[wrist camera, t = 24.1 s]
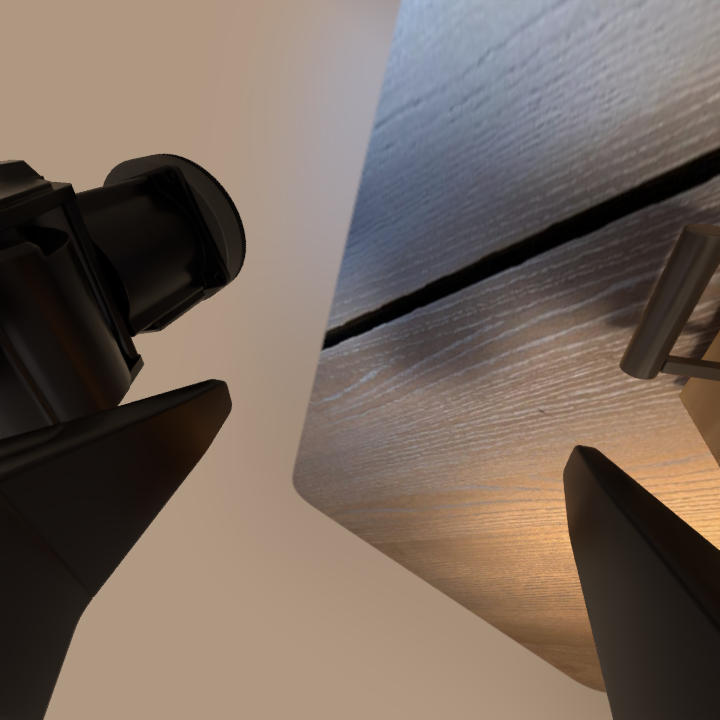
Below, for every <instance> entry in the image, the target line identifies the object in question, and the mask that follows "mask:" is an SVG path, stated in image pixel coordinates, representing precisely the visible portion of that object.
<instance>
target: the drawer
mask: <svg viewBox="0 0 720 720" xmlns="http://www.w3.org/2000/svg"><path fill="white" fill-rule="evenodd" d="M719 263H720V227H719V226H714V225H706V224H689V225H686V226H685V227H684V228H683V230H682V233H681V235H680V237H679V239H678V241H677V243H676V245H675V247H674V249H673V252H672V254H671V256H670V258H669V260H668V262H667V264H666V266H665V268H664V271H663V273H662V275H661V277H660V279H659V281H658V283H657V285H656V288H655V290H654V292H653V294H652V296H651V298H650V300H649V302H648V304H647V307H646V309H645V311H644V313H643V315H642V317H641V319H640V321H639V323H638V326H637V328H636V330H635V332H634V334H633V336H632V338H631V340H630V342H629V345H628V347H627V349H626V351H625V353H624V355H623V357H622V359H621V361H620V368H621V370H622V371H624V372H625V373H626V374H628V375H630V376H632V377H635V378H639V379H644V380H649V379H653V378H655V377H656V376H657V375H658V373H659V371H660V372H662V373H667V374H674V375H681V376H688V377H690V379H689V380H688V382H687V384H686V385H685V387H684V389H683V390H682V392H681V393H680V395H679V397H680V399H681V401H682V403H683V404H684V406H685V408H686V409H687V411H688V413H689V415H690V416H691V418H692V420H693V422H694V423H695V425H696V427H697V429H698V430H699V432H700V434H701V435H702V437H703V439H704V441H705V442H706V444H707V446H708V448H709V449H710V451H711V453H712V455H713V456H714V458H715V460H716V462H717V463H718V465H719V467H720V330H719V332H718V334H717V335H716V337H715V338H714V340H713V342H712V343H711V345H710V347H709V348H708V350H707V351H706V353H705V355H704V356H703V358H702V359H701V360H700V359H693V358H686V357H678V356H671V355H669V353H670V351H671V349H672V348H673V346H674V344H675V342H676V340H677V339H678V337H679V335H680V333H681V331H682V330H683V328H684V326H685V324H686V322H687V321H688V319H689V317H690V315H691V313H692V312H693V310H694V308H695V306H696V304H697V303H698V301H699V299H700V297H701V295H702V294H703V292H704V290H705V288H706V286H707V285H708V283H709V281H710V279H711V277H712V276H713V274H714V272H715V270H716V268H717V267H718V265H719Z"/></svg>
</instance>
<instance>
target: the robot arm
mask: <svg viewBox="0 0 720 720" xmlns="http://www.w3.org/2000/svg"><path fill="white" fill-rule="evenodd" d="M171 172H172V173H173V174H174V177H175V178H174V179H173V177H172V176H171ZM219 275H221V276H222V277H223V279H221V278H220V276H219ZM230 281H231V276H230V273H229V271H228V269H227V267H226V265H225V262H224V260H223V258H222V256H221V254H220V252H219V250H218V247H217V245H216V243H215V241H214V239H213V237H212V235H211V232H210V230H209V228H208V226H207V224H206V222H205V219H204V217H203V215H202V213H201V211H200V209H199V207H198V204H197V202H196V200H195V198H194V196H193V194H192V191H191V189H190V187H189V185H188V183H187V181H186V179H185V176H184V174H183V172H182V171H181V169H180V168H179V167H178V166H177V165H175V164H168V165H164V166H162V167H159V168H156V169H153V170H151V171H148V172H145V173H142V174H140V175H137V176H134V177H131V178H129V179H126V180H123V181H120V182H117V183H114V184H111V185H107V186H103V187H99V188H95V189H91V190H87V191H84V192H80V193H76V194H75V192H74V189H73V187H72V184H71V183H60V182H50V181H46V180H45V179H44V177H43V176H40V175H39V174H38V173H37V172H36V171H34V170H33V169H32V168H31V167H30V166H29V165H28V164H27V163H26V162H25V161H23V160H8V161H1V162H0V720H43V719H44V716H45V714H46V711H47V708H48V705H49V702H50V699H51V696H52V693H53V690H54V688H55V685H56V682H57V679H58V677H59V674H60V671H61V668H62V665H63V662H64V659H65V657H66V654H67V651H68V648H69V645H70V643H71V640H72V637H73V634H74V631H75V629H76V626H77V624H78V621H79V619H80V617H81V615H82V614H83V612H84V610H85V609H86V607H87V605H88V604H89V603H90V602H91V600H92V597H94V596H95V595H96V594H97V593H98V591H99V590H100V589H101V587H102V586H103V585H104V583H105V582H106V581H107V579H108V578H109V577H110V576H111V574H112V573H113V572H114V571H115V569H116V568H117V567H118V565H119V564H120V563H121V561H122V560H123V559H124V558H125V556H126V555H127V554H128V552H129V551H130V550H131V549H132V547H133V546H134V545H135V543H136V542H137V541H138V539H139V538H140V537H141V535H142V534H143V533H144V532H145V530H146V529H147V528H148V527H149V525H150V524H151V523H152V521H153V520H154V519H155V517H156V516H157V515H158V513H159V512H160V511H161V510H162V508H163V507H164V506H165V504H166V503H167V502H168V501H169V499H170V498H171V497H172V495H173V494H174V493H175V491H176V490H177V489H178V487H179V486H180V485H181V484H182V482H183V481H184V480H185V479H186V477H187V476H188V475H189V473H190V472H191V471H192V470H193V468H194V467H195V466H196V464H197V463H198V462H199V460H200V459H201V458H202V456H203V455H204V454H205V452H206V451H207V449H208V448H209V446H210V445H211V443H212V442H213V439H214V438H215V437H216V435H217V433H218V432H219V430H220V428H221V427H222V425H223V424H224V422H225V420H226V419H227V417H228V415H229V414H230V411H231V407H232V402H231V398H230V394H229V390H228V387H227V384H226V382H224V381H221V380H216V379H210V380H207V381H203V382H199V383H196V384H192V385H189V386H186V387H182V388H179V389H175V390H172V391H169V392H165V393H162V394H158V395H155V396H151V397H148V398H145V399H141V400H138V401H134V402H131V403H128V404H125V405H121V406H118V405H119V404H120V402H121V401H122V399H123V398H124V396H125V395H126V393H127V392H128V390H129V388H130V385H131V384H132V382H133V381H134V379H135V377H136V376H137V375H138V373H139V371H140V370H141V369H142V367H143V365H144V362H143V360H142V357H141V355H140V354H138V353H137V351H136V348H135V346H134V343H133V341H132V338H131V337H134V336H136V335H137V334H143V333H150V332H158V331H161V330H163V329H164V328H165V327H167V326H168V325H169V324H171V323H172V322H173V321H175V320H176V319H178V318H179V317H180V316H182V315H183V314H184V313H186V312H187V311H189V310H190V309H191V308H193V307H194V306H195V305H197V304H198V303H199V302H201V301H202V300H204V297H205V294H204V292H203V290H207V289H213V288H218V287H223V286H225V285H227V284H228V283H229V282H230ZM563 482H564V492H565V501H566V511H567V521H568V529H569V536H570V541H571V545H572V549H573V554H574V558H575V562H576V566H577V570H578V575H579V579H580V583H581V587H582V591H583V595H584V600H585V604H586V608H587V612H588V616H589V620H590V625H591V629H592V633H593V637H594V641H595V646H596V650H597V654H598V658H599V662H600V666H601V671H602V675H603V679H604V683H605V687H606V691H607V696H608V699H609V704H610V708H611V712H612V716H613V720H720V550H719V549H717V548H716V547H715V546H714V545H712V544H711V543H710V542H709V541H708V540H706V539H705V538H704V537H703V536H702V535H700V534H699V533H698V532H697V531H695V530H694V529H693V528H692V527H691V526H689V525H688V524H687V523H686V522H685V521H683V520H682V519H681V518H680V517H679V516H677V515H676V514H675V513H674V512H672V511H671V510H670V509H669V508H668V507H666V506H665V505H664V504H663V503H662V502H660V501H659V500H658V499H657V498H656V497H654V496H653V495H652V494H651V493H649V492H648V491H647V490H646V489H645V488H643V487H642V486H641V485H640V484H639V483H637V482H636V481H635V480H634V479H632V478H631V477H630V476H629V475H628V474H626V473H625V472H624V471H623V470H622V469H620V468H619V467H618V466H617V465H616V464H614V463H613V462H612V461H611V460H609V459H608V458H607V457H606V456H605V455H603V454H602V453H601V452H600V451H599V450H597V449H596V448H593V447H588V446H582V445H577V446H575V447H574V449H573V451H572V453H571V455H570V457H569V459H568V462H567V464H566V466H565V468H564V473H563Z"/></svg>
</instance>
